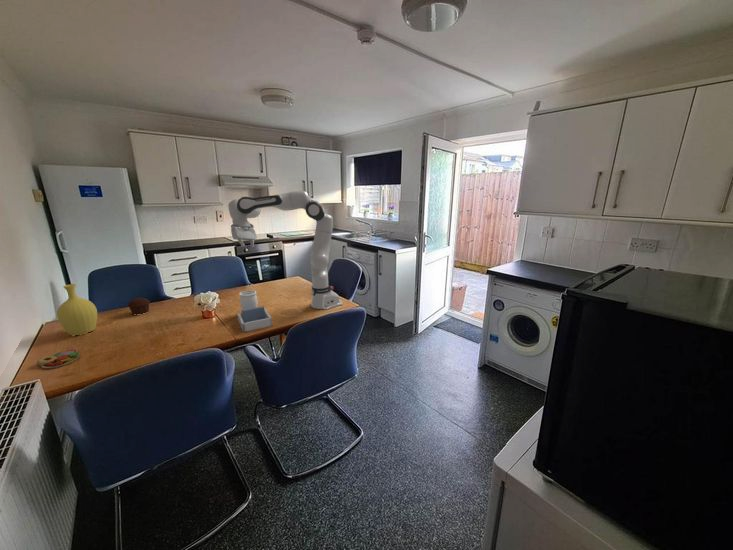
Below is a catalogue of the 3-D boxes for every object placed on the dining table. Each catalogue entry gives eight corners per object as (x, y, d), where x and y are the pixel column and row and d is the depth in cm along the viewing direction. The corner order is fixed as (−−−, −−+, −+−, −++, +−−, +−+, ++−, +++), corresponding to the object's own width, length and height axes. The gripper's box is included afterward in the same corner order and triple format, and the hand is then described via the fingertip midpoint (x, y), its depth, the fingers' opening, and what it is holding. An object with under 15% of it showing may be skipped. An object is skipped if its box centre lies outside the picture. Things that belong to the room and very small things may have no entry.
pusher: (264, 317, 185) (263, 306, 183) (265, 319, 183) (264, 307, 181) (242, 322, 178) (240, 310, 176) (243, 323, 177) (241, 311, 175)
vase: (71, 328, 171) (57, 282, 164) (106, 323, 177) (94, 279, 170) (56, 340, 157) (40, 291, 149) (94, 335, 163) (81, 287, 155)
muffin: (130, 317, 186) (126, 303, 183) (128, 312, 194) (125, 298, 191) (152, 313, 193) (149, 298, 190) (150, 308, 201) (147, 294, 198)
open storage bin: (265, 314, 191) (264, 307, 189) (272, 325, 175) (271, 318, 174) (238, 320, 183) (237, 312, 181) (243, 332, 167) (242, 324, 166)
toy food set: (34, 366, 135) (32, 360, 134) (71, 352, 147) (69, 346, 146) (51, 372, 130) (48, 366, 129) (87, 357, 142) (85, 351, 141)
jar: (252, 318, 186) (250, 295, 182) (238, 316, 188) (235, 294, 184) (261, 311, 196) (259, 290, 192) (248, 310, 198) (245, 289, 194)
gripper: (234, 222, 173) (241, 244, 172) (255, 225, 193) (261, 245, 192) (225, 225, 174) (233, 247, 174) (247, 228, 194) (253, 248, 194)
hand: (248, 246), depth 183 cm, fingers open, 8 cm apart
